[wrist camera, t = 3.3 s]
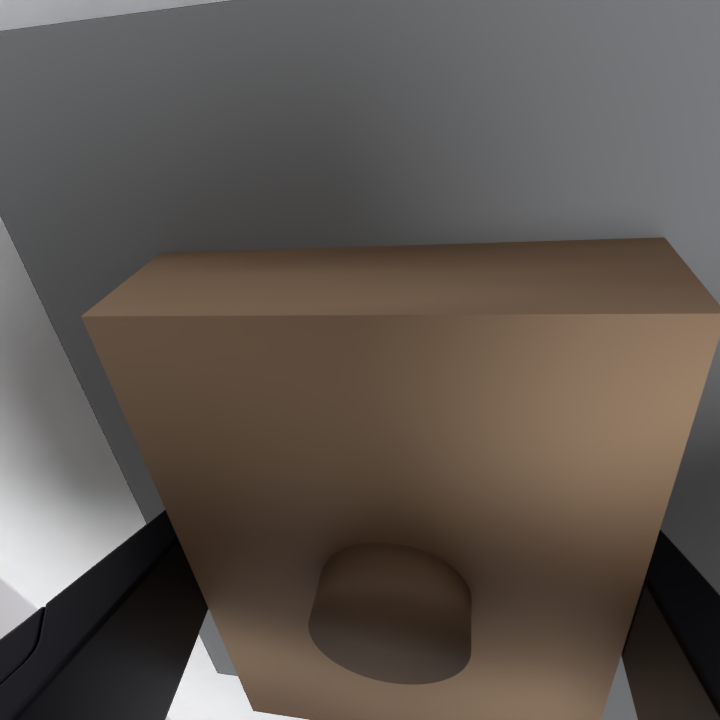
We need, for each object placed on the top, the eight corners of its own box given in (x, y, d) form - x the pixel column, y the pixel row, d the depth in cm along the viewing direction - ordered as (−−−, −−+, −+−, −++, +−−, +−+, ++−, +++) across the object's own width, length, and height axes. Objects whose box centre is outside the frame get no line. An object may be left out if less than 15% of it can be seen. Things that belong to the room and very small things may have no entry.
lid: (572, 660, 12) (595, 813, 10) (280, 625, 13) (240, 751, 11) (664, 237, 7) (763, 360, 4) (160, 252, 8) (37, 351, 6)
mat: (653, 694, 14) (664, 736, 13) (230, 639, 16) (217, 673, 16) (968, -92, 5) (1057, -110, 5) (-24, 37, 8) (-82, 41, 7)
